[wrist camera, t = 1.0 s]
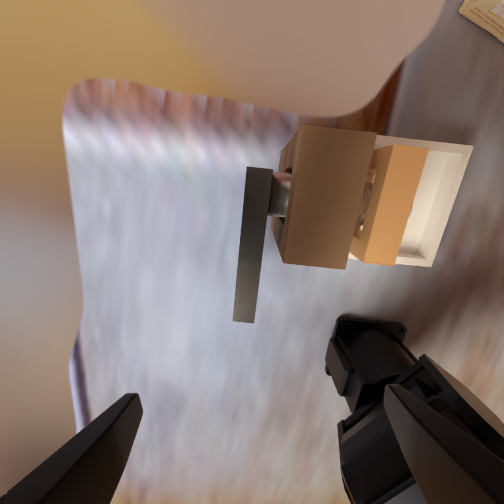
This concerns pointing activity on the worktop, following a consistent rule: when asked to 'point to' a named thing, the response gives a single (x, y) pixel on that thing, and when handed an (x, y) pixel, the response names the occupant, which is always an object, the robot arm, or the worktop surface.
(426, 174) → the tray
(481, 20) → the coffeecake box
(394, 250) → the block
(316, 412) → the worktop surface
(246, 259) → the grey piece
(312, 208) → the block
